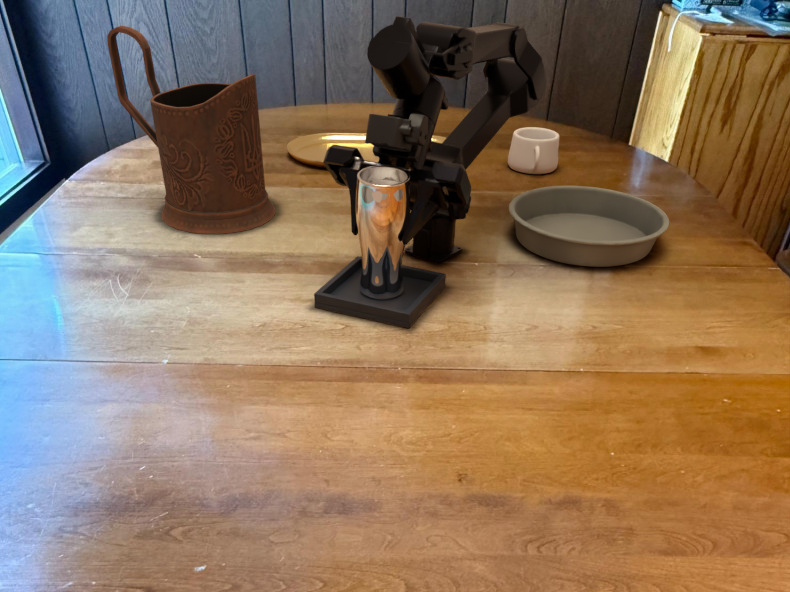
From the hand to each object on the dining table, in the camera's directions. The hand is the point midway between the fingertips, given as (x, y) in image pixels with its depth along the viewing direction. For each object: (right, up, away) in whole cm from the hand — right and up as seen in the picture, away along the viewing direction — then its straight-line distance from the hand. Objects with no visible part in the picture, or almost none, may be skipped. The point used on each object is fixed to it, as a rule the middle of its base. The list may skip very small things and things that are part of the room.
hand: (378, 238), depth 99 cm
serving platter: (-2, +36, +53) cm, 64 cm away
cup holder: (-30, +16, +29) cm, 44 cm away
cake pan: (+32, +9, +24) cm, 41 cm away
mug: (+28, +32, +49) cm, 65 cm away
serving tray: (0, -5, +7) cm, 9 cm away
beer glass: (0, -5, +6) cm, 8 cm away
